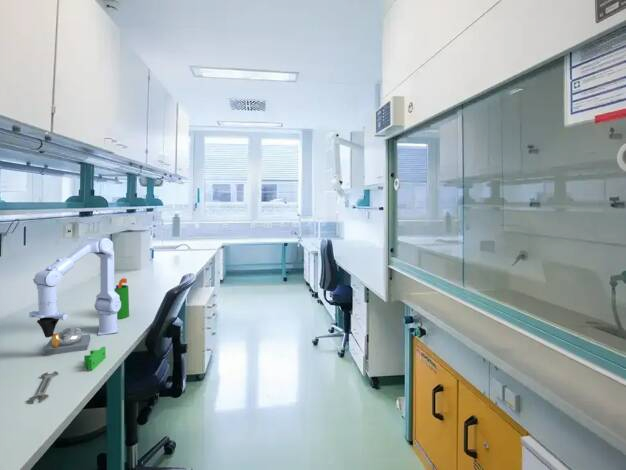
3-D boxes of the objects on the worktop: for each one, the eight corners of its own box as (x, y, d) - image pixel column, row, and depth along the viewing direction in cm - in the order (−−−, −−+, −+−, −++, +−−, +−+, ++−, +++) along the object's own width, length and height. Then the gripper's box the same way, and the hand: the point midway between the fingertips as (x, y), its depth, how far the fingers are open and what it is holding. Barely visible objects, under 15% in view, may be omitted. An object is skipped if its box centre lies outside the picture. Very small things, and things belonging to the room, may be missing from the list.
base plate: (50, 343, 147) (50, 339, 146) (90, 338, 153) (90, 334, 153) (44, 355, 135) (43, 350, 135) (87, 349, 142) (87, 344, 141)
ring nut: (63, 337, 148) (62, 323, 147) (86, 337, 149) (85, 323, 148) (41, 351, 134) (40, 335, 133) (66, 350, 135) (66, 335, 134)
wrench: (47, 402, 104) (59, 373, 122) (46, 396, 104) (59, 369, 122) (26, 407, 102) (42, 377, 120) (26, 402, 102) (41, 373, 120)
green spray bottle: (110, 314, 187) (109, 277, 185) (129, 312, 191) (128, 276, 189) (109, 320, 178) (108, 281, 176) (129, 318, 182) (128, 279, 181)
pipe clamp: (95, 358, 134) (94, 346, 134) (105, 358, 135) (105, 346, 134) (80, 372, 123) (80, 359, 123) (91, 371, 124) (91, 358, 123)
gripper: (21, 303, 131) (22, 338, 132) (55, 305, 129) (57, 341, 130) (38, 298, 138) (39, 332, 139) (71, 300, 136) (72, 335, 137)
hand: (49, 336), depth 135 cm, fingers closed
